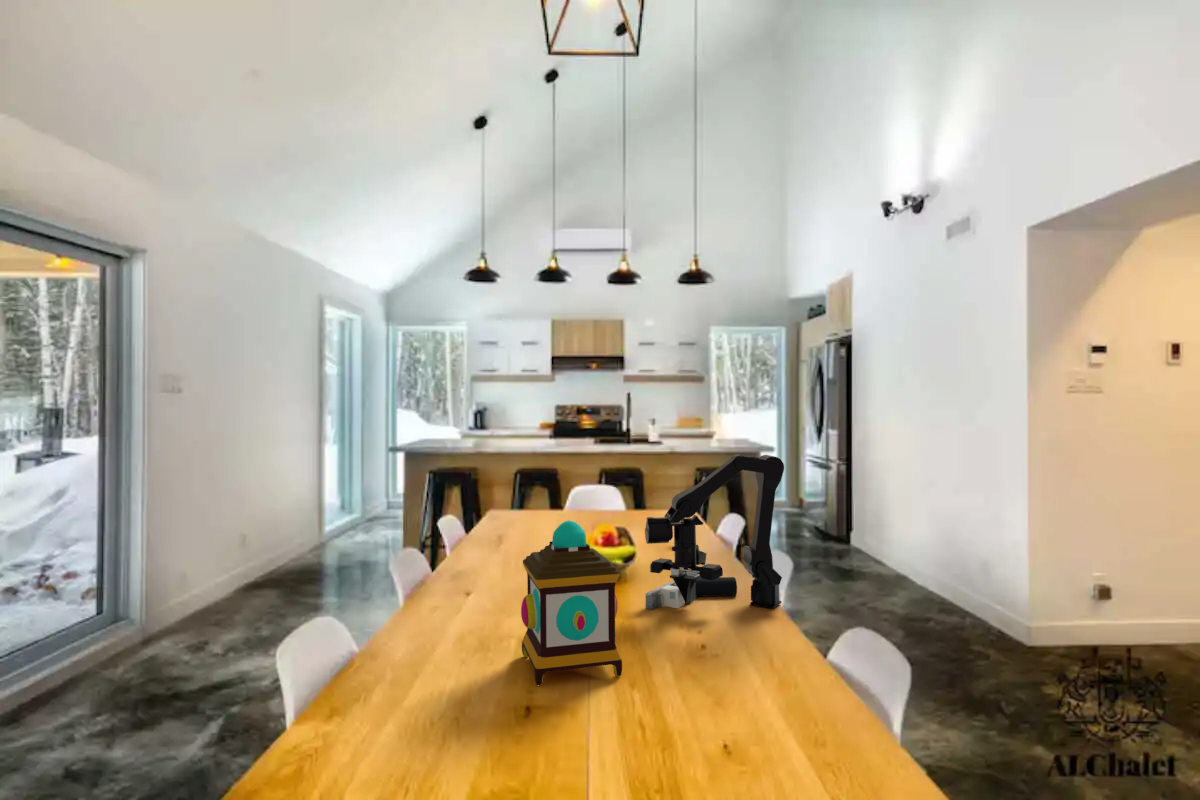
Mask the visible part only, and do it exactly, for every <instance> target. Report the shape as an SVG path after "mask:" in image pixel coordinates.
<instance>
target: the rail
mask: <svg viewBox="0 0 1200 800" xmlns="http://www.w3.org/2000/svg"><path fill="white" fill-rule="evenodd" d="M674 584H675V582H674V581H668V582H666V583H664V584H662V585H661V586H659V587H657V588H655V589H652V590H650V591H648V592H646V593H645V610H646V609H647V610H651V611H652V610H656V609H657V608H663V607H664V606H663V593H661V588H663V587H665V586H667V585H670V586H673V585H674Z"/></svg>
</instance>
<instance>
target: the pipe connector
mask: <svg viewBox="0 0 1200 800" xmlns="http://www.w3.org/2000/svg"><path fill="white" fill-rule="evenodd" d="M695 583H696V597H717V596H719V597H722V596H724V597H725V596H726V597H727V596H728V597H729V596H737V594H738V585H737V579H736V577H735V576H728V577H727V576H726V577H723V576H721V577H719V578H717V579H715V580H708V579H702V578H701V577H700V578H698V579H697V580H696V581H695Z"/></svg>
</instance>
